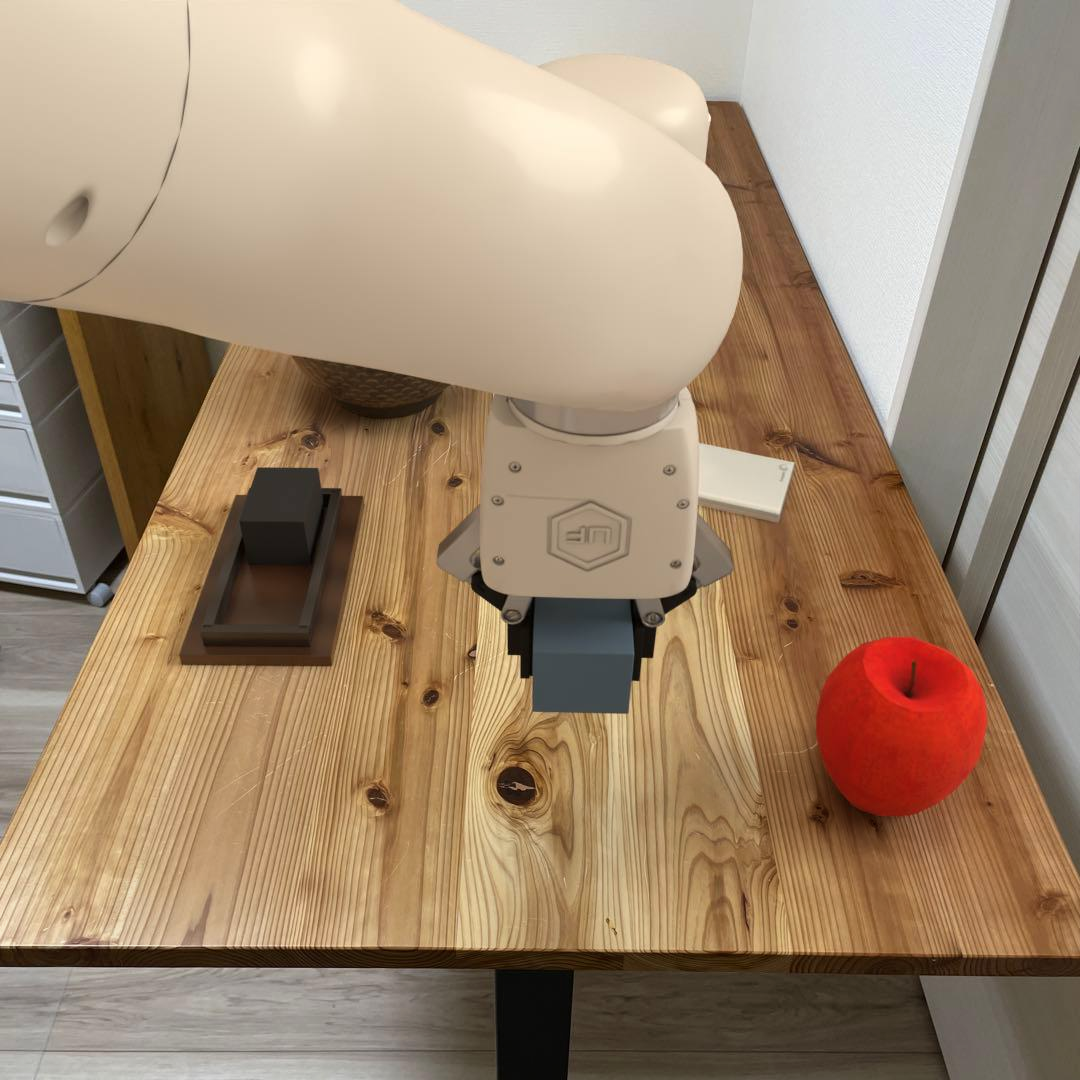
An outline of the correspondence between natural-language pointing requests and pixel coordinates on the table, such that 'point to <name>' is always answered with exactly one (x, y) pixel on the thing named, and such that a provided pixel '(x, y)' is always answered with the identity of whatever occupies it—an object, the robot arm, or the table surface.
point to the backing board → (275, 596)
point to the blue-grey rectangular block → (582, 655)
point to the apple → (900, 725)
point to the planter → (371, 388)
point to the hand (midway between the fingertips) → (579, 658)
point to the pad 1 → (282, 516)
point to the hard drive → (743, 482)
